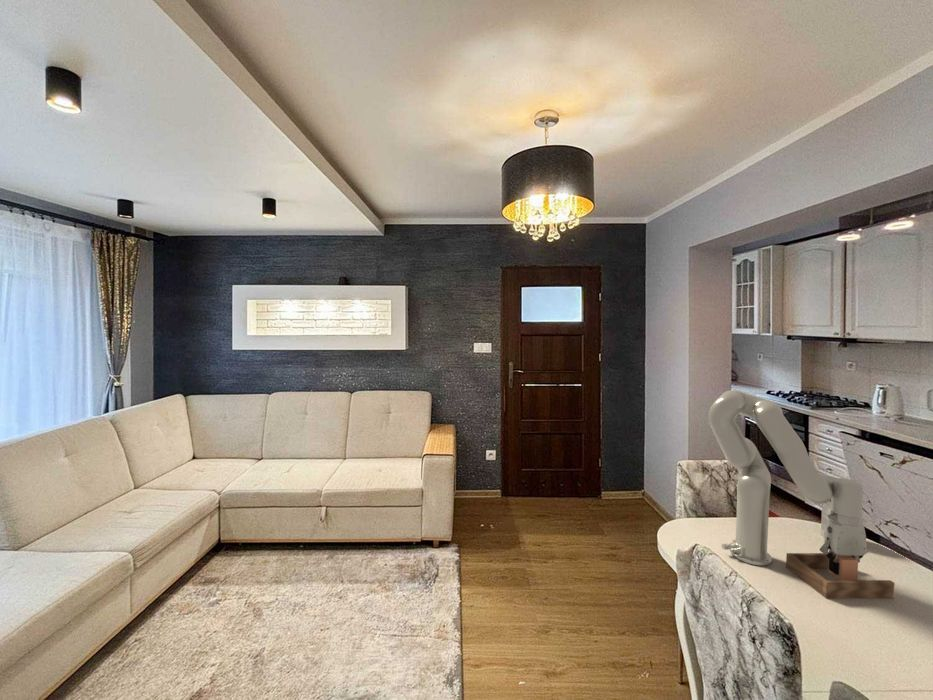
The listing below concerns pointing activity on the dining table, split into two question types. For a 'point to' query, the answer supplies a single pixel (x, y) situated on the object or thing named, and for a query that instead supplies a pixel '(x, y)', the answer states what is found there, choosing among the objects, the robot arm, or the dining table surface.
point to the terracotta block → (846, 568)
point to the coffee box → (825, 516)
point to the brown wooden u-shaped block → (835, 588)
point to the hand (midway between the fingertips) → (842, 571)
